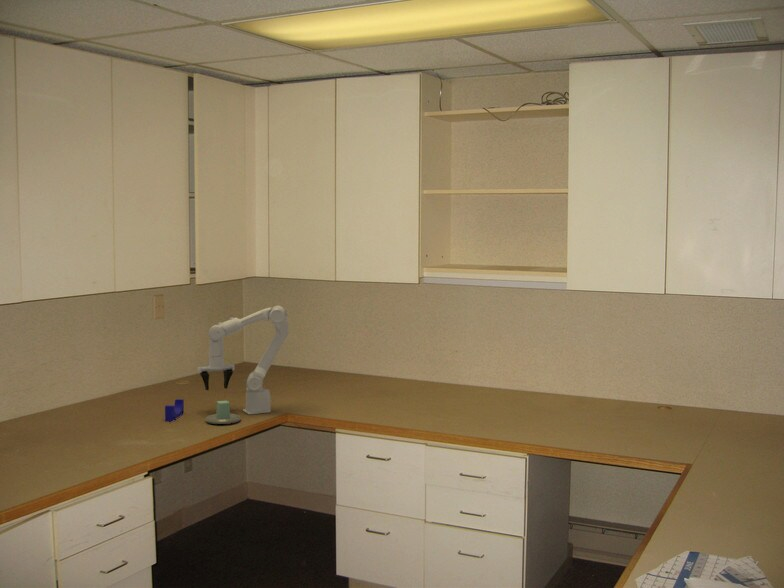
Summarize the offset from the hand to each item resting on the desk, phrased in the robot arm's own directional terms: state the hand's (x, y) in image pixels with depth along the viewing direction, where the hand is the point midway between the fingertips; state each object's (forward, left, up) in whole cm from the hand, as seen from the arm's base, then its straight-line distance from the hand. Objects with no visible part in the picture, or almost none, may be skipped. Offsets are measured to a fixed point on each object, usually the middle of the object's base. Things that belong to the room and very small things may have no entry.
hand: (216, 389), depth 320 cm
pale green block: (+2, +15, -8) cm, 17 cm away
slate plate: (+2, +15, -9) cm, 18 cm away
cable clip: (+18, +1, -10) cm, 20 cm away
